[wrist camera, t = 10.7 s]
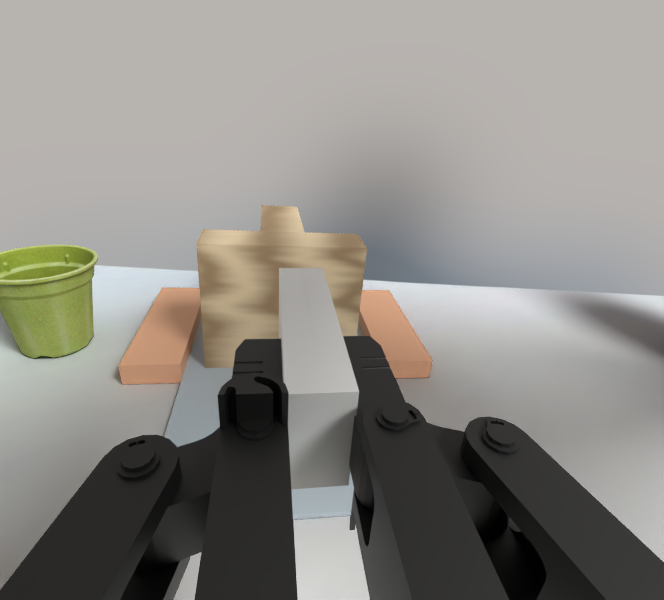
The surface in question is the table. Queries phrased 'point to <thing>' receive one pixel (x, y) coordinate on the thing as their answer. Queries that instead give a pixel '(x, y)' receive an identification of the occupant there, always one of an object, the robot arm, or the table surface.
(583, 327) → the table surface
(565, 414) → the table surface
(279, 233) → the oak T block
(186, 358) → the push board
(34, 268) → the plant pot
